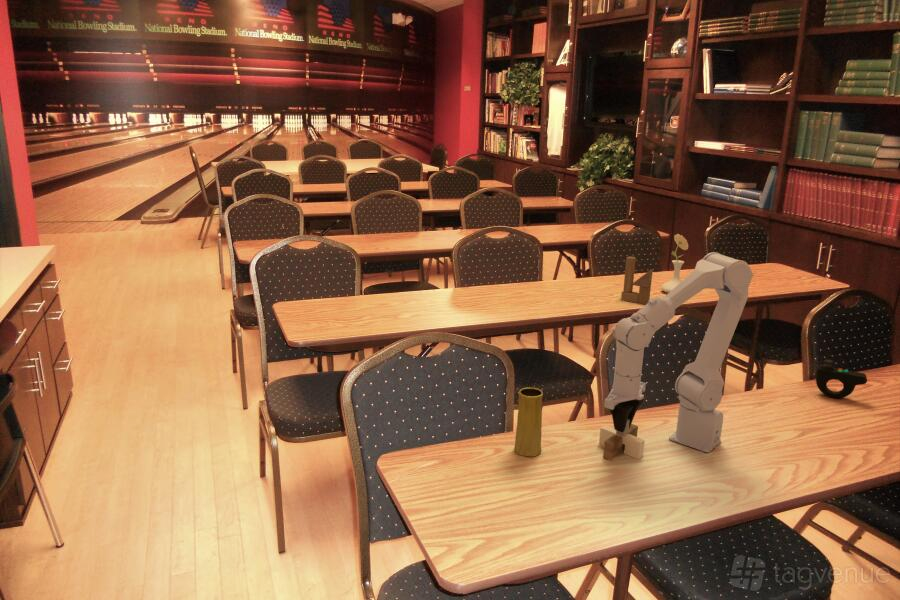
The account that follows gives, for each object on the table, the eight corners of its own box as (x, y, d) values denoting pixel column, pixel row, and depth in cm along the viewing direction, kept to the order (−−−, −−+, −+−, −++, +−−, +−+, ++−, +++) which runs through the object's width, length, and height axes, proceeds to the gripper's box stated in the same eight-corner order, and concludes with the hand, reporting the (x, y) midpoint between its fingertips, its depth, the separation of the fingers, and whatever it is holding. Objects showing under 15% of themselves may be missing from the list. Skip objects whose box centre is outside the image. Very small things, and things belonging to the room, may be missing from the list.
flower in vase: (692, 296, 279) (699, 238, 272) (664, 296, 279) (671, 237, 272) (682, 288, 291) (689, 232, 284) (656, 288, 291) (662, 231, 285)
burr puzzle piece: (599, 443, 154) (601, 413, 151) (603, 440, 155) (606, 411, 153) (638, 459, 147) (641, 428, 145) (642, 456, 148) (646, 425, 146)
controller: (811, 389, 186) (817, 356, 184) (862, 400, 180) (869, 365, 177) (810, 394, 183) (816, 360, 180) (862, 405, 177) (869, 370, 174)
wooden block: (646, 305, 265) (650, 261, 260) (620, 300, 271) (624, 257, 266) (649, 303, 268) (654, 259, 263) (624, 298, 274) (628, 255, 269)
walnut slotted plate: (628, 438, 156) (630, 423, 155) (636, 441, 155) (638, 426, 154) (603, 457, 147) (604, 441, 146) (611, 460, 146) (612, 444, 145)
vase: (509, 446, 151) (512, 388, 148) (533, 442, 154) (537, 385, 150) (521, 459, 146) (524, 399, 142) (546, 454, 148) (550, 395, 144)
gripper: (627, 386, 138) (621, 445, 142) (660, 368, 148) (653, 424, 152) (598, 377, 143) (592, 434, 147) (631, 360, 153) (626, 414, 157)
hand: (622, 428), depth 150 cm, fingers closed on burr puzzle piece, 2 cm apart
